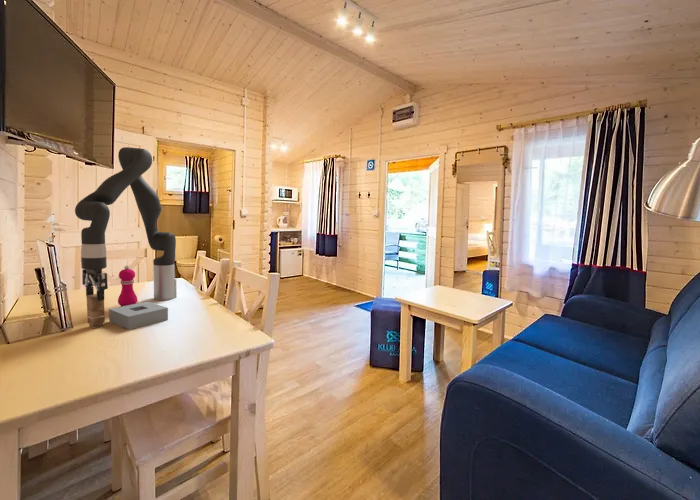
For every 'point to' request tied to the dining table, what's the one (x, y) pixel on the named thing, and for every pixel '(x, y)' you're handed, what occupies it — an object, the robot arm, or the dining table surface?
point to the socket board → (138, 315)
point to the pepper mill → (127, 287)
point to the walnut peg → (95, 311)
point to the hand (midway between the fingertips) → (95, 298)
